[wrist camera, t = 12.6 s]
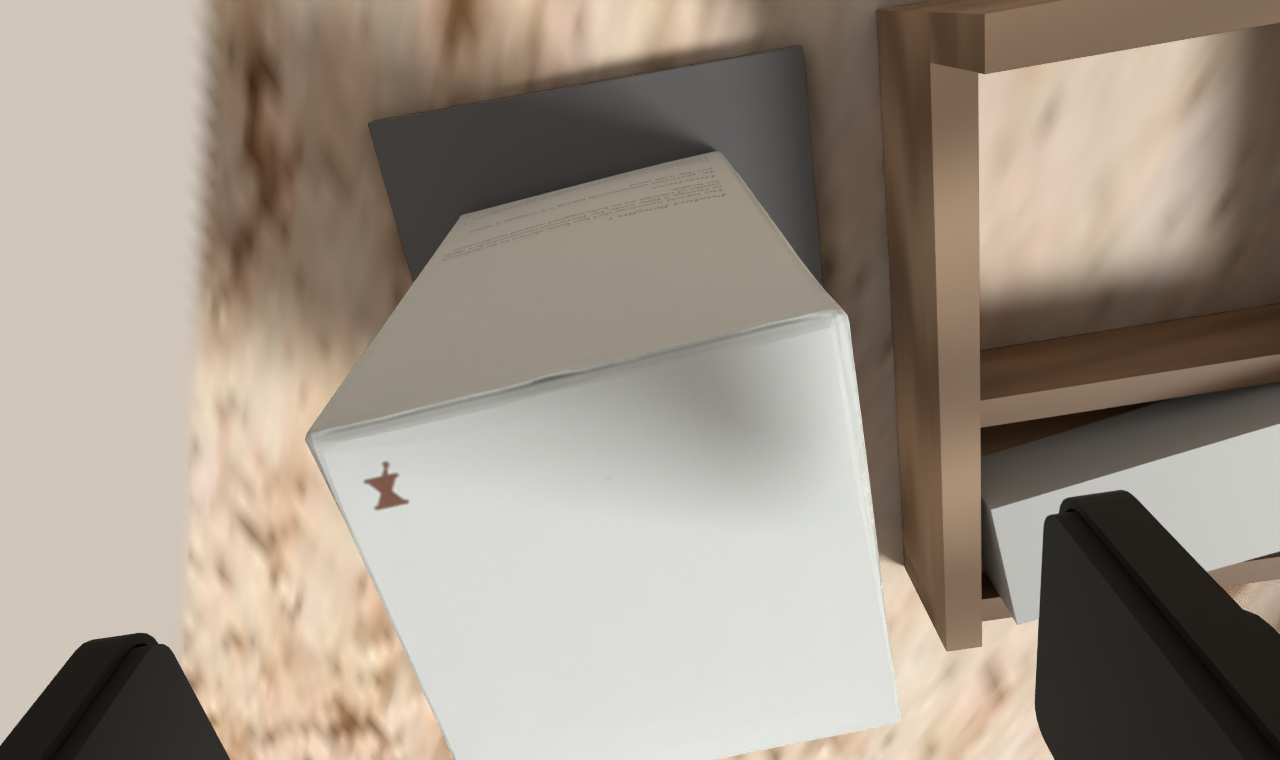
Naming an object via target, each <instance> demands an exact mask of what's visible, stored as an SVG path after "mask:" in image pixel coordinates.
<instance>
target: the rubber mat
mask: <svg viewBox="0 0 1280 760" xmlns="http://www.w3.org/2000/svg"><path fill="white" fill-rule="evenodd" d="M368 126H369V129H370V133H371V136H372V140H373V143H374V147H375V151H376V154H377V158H378V161H379V165H380V168H381V172H382V175H383V179H384V182H385V186H386V189H387V193H388V196H389V200H390V203H391V207H392V210H393V214H394V217H395V221H396V224H397V228H398V231H399V235H400V238H401V242H402V245H403V249H404V252H405V256H406V259H407V263H408V266H409V270H410V273H411V277H412V280H413V283H414V281H415V280H416V279H417V277H418V276H419V274H420V273H421V272H422V270H423V269H424V267H425V266H426V265H427V263H428V262H429V260H430V259H431V258H432V256H433V255H434V253H435V252H436V251H437V249H438V248H439V246H440V245H441V243H442V242H443V241H444V239H445V238H446V236H447V235H448V233H449V232H450V231H451V229H452V228H453V227H454V225H455V224H456V222H457V221H458V220H459V217H460V216H461V215H463V214H467V213H472V212H476V211H480V210H483V209H487V208H491V207H495V206H499V205H502V204H506V203H510V202H514V201H518V200H522V199H526V198H529V197H533V196H537V195H541V194H545V193H549V192H552V191H556V190H560V189H564V188H568V187H572V186H576V185H580V184H583V183H587V182H591V181H595V180H599V179H603V178H607V177H610V176H614V175H618V174H622V173H626V172H630V171H634V170H638V169H642V168H646V167H650V166H654V165H658V164H662V163H666V162H670V161H674V160H679V159H683V158H688V157H692V156H697V155H701V154H706V153H710V152H714V151H719V152H721V153H722V155H723V156H724V157H725V158H726V160H727V161H728V162H729V163H730V165H731V166H732V167H733V169H734V170H735V171H736V172H737V173H738V174H739V175H740V177H741V178H742V179H743V181H744V182H745V183H746V185H747V186H748V188H749V189H750V190H751V191H752V193H753V194H754V196H755V197H756V199H757V200H758V202H759V203H760V204H761V206H762V207H763V208H764V210H765V211H766V212H767V213H768V215H769V216H770V218H771V219H772V221H773V222H774V223H775V225H776V226H777V228H778V229H779V230H780V232H781V233H782V234H783V236H784V237H785V239H786V240H787V241H788V243H789V244H790V245H791V247H792V248H793V250H794V251H795V253H796V254H797V256H798V257H799V258H800V259H801V261H802V262H803V263H804V265H805V266H806V267H807V269H808V270H809V271H810V272H811V274H812V275H813V276H814V278H815V279H816V280H817V281H818V283H819V284H820V285H821V286H822V287H823V283H822V271H821V259H820V247H819V235H818V224H817V212H816V200H815V188H814V176H813V164H812V152H811V140H810V128H809V116H808V104H807V92H806V80H805V68H804V56H803V47H802V46H792V47H786V48H781V49H775V50H769V51H764V52H758V53H753V54H747V55H741V56H736V57H730V58H724V59H719V60H713V61H708V62H702V63H696V64H691V65H685V66H679V67H674V68H668V69H663V70H657V71H651V72H646V73H640V74H634V75H629V76H623V77H618V78H612V79H606V80H601V81H595V82H589V83H584V84H578V85H573V86H567V87H561V88H556V89H550V90H544V91H539V92H533V93H528V94H522V95H516V96H511V97H505V98H499V99H494V100H488V101H482V102H477V103H471V104H466V105H460V106H454V107H449V108H443V109H437V110H432V111H426V112H421V113H415V114H409V115H404V116H398V117H392V118H387V119H381V120H376V121H373V122H371V123H369V124H368Z"/></svg>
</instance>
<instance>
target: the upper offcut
mask: <svg viewBox="0 0 1280 760" xmlns="http://www.w3.org/2000/svg"><path fill="white" fill-rule="evenodd" d="M1116 490H1125V491H1128V492H1129V493H1131V494H1132V495H1133V496H1135V497H1136V498H1137V499H1138V501H1139V502H1140V503H1141V504H1142V505H1143V506H1144V507H1145V508H1146V509H1147V510H1148V511H1149V512H1150V513H1151V514H1152V515H1153V516H1154V517H1155V518H1156V519H1157V520H1158V521H1159V522H1160V523H1161V525H1162V526H1163V527H1164V528H1165V529H1166V530H1167V531H1168V532H1169V533H1170V534H1171V535H1172V536H1173V537H1174V538H1175V539H1176V540H1177V541H1178V542H1179V543H1180V544H1181V545H1182V546H1183V548H1184V549H1185V550H1186V551H1187V552H1188V553H1189V554H1190V555H1191V556H1192V557H1193V558H1194V559H1195V560H1196V561H1197V562H1198V563H1199V564H1200V565H1201V566H1202V567H1203V568H1204V569H1205V570H1206V572H1208V571H1211V570H1215V569H1218V568H1222V567H1225V566H1229V565H1233V564H1236V563H1240V562H1243V561H1247V560H1250V559H1254V558H1258V557H1261V556H1265V555H1268V554H1272V553H1275V552H1279V551H1280V382H1274V383H1267V384H1261V385H1254V386H1248V387H1241V388H1235V389H1228V390H1222V391H1215V392H1209V393H1202V394H1196V395H1189V396H1183V397H1176V398H1173V399H1169V400H1166V401H1163V402H1160V403H1156V404H1153V405H1150V406H1147V407H1143V408H1140V409H1137V410H1133V411H1130V412H1127V413H1124V414H1120V415H1117V416H1114V417H1111V418H1107V419H1104V420H1101V421H1098V422H1094V423H1091V424H1088V425H1085V426H1081V427H1078V428H1075V429H1071V430H1068V431H1065V432H1062V433H1058V434H1055V435H1052V436H1049V437H1045V438H1042V439H1039V440H1036V441H1032V442H1029V443H1026V444H1023V445H1019V446H1016V447H1013V448H1010V449H1006V450H1003V451H1000V452H996V453H993V454H990V455H987V456H983V457H981V558H982V562H983V567H984V571H985V573H986V575H987V576H988V578H989V580H990V581H991V583H992V585H993V586H994V588H995V589H996V591H997V593H998V594H999V596H1000V598H1001V599H1002V601H1003V602H1004V604H1005V606H1006V607H1007V609H1008V611H1009V612H1010V614H1011V615H1012V617H1013V619H1014V620H1015V622H1016V623H1017V625H1018V624H1022V623H1025V622H1029V621H1032V620H1036V619H1039V607H1040V587H1041V566H1042V546H1043V527H1044V521H1045V519H1046V517H1047V516H1048V515H1052V514H1058V513H1059V509H1060V505H1061V503H1062V501H1063V500H1064V499H1066V498H1068V497H1075V496H1082V495H1088V494H1095V493H1102V492H1109V491H1116Z"/></svg>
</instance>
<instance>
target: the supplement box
mask: <svg viewBox="0 0 1280 760" xmlns="http://www.w3.org/2000/svg"><path fill="white" fill-rule="evenodd" d="M305 441H306V443H307V445H308V447H309V449H310V451H311V453H312V455H313V457H314V459H315V461H316V463H317V465H318V467H319V469H320V471H321V473H322V475H323V477H324V479H325V481H326V483H327V485H328V487H329V489H330V491H331V493H332V495H333V497H334V499H335V501H336V503H337V505H338V508H339V510H340V512H341V514H342V516H343V518H344V520H345V522H346V524H347V526H348V528H349V531H350V533H351V535H352V537H353V539H354V542H355V544H356V546H357V548H358V550H359V553H360V555H361V557H362V559H363V561H364V563H365V566H366V568H367V570H368V572H369V574H370V576H371V579H372V581H373V583H374V585H375V587H376V589H377V592H378V594H379V596H380V598H381V600H382V602H383V605H384V607H385V609H386V611H387V614H388V616H389V618H390V621H391V623H392V625H393V627H394V630H395V632H396V634H397V636H398V638H399V640H400V642H401V644H402V646H403V648H404V651H405V653H406V655H407V657H408V660H409V662H410V664H411V666H412V668H413V671H414V673H415V675H416V677H417V679H418V682H419V684H420V686H421V688H422V690H423V692H424V695H425V697H426V699H427V701H428V703H429V705H430V707H431V710H432V712H433V714H434V716H435V718H436V720H437V723H438V725H439V727H440V729H441V731H442V733H443V736H444V738H445V740H446V742H447V745H448V747H449V749H450V751H451V753H452V755H453V757H454V760H715V759H720V758H725V757H730V756H735V755H740V754H745V753H750V752H755V751H760V750H765V749H770V748H775V747H780V746H785V745H790V744H795V743H800V742H806V741H811V740H816V739H821V738H826V737H831V736H837V735H842V734H847V733H852V732H857V731H862V730H868V729H873V728H878V727H883V726H889V725H894V724H897V723H899V722H900V721H901V720H902V719H903V718H902V714H901V710H900V706H899V699H898V693H897V687H896V681H895V674H894V666H893V658H892V651H891V644H890V637H889V630H888V622H887V615H886V608H885V600H884V592H883V584H882V576H881V568H880V560H879V552H878V544H877V536H876V528H875V520H874V512H873V504H872V496H871V488H870V480H869V472H868V464H867V456H866V449H865V441H864V433H863V426H862V418H861V410H860V403H859V395H858V387H857V380H856V372H855V364H854V357H853V349H852V340H851V332H850V323H849V319H848V315H847V314H846V313H845V312H844V310H843V309H842V308H841V307H840V306H839V305H838V304H837V302H836V301H835V300H834V299H833V298H832V297H831V296H830V295H829V294H828V293H827V292H826V291H825V289H824V288H823V287H822V286H821V285H820V284H819V283H818V281H817V280H816V279H815V278H814V276H813V275H812V274H811V272H810V271H809V270H808V269H807V267H806V266H805V265H804V263H803V262H802V261H801V259H800V258H799V257H798V256H797V254H796V253H795V251H794V250H793V248H792V247H791V245H790V244H789V243H788V241H787V240H786V239H785V237H784V236H783V234H782V233H781V232H780V230H779V229H778V228H777V226H776V225H775V223H774V222H773V221H772V219H771V218H770V216H769V215H768V213H767V212H766V211H765V210H764V208H763V207H762V206H761V204H760V203H759V202H758V200H757V199H756V197H755V196H754V194H753V193H752V191H751V190H750V189H749V188H748V186H747V185H746V183H745V182H744V181H743V179H742V178H741V177H740V175H739V174H738V173H737V172H736V171H735V170H734V169H733V167H732V166H731V165H730V163H729V162H728V161H727V160H726V158H725V157H724V156H723V155H722V153H721V152H719V151H714V152H710V153H706V154H701V155H697V156H692V157H688V158H683V159H679V160H674V161H670V162H666V163H662V164H658V165H654V166H650V167H646V168H642V169H638V170H634V171H630V172H626V173H622V174H618V175H614V176H610V177H607V178H603V179H599V180H595V181H591V182H587V183H583V184H580V185H576V186H572V187H568V188H564V189H560V190H556V191H552V192H549V193H545V194H541V195H537V196H533V197H529V198H526V199H522V200H518V201H514V202H510V203H506V204H502V205H499V206H495V207H491V208H487V209H483V210H480V211H476V212H472V213H467V214H463V215H461V216H460V217H459V220H458V221H457V222H456V224H455V225H454V227H453V228H452V229H451V231H450V232H449V233H448V235H447V236H446V238H445V239H444V241H443V242H442V243H441V245H440V246H439V248H438V249H437V251H436V252H435V253H434V255H433V256H432V258H431V259H430V260H429V262H428V263H427V265H426V266H425V267H424V269H423V270H422V272H421V273H420V274H419V276H418V277H417V279H416V280H415V281H414V283H413V284H412V285H411V287H410V288H409V290H408V291H407V293H406V294H405V295H404V297H403V298H402V300H401V301H400V302H399V304H398V305H397V307H396V308H395V310H394V311H393V312H392V314H391V315H390V317H389V318H388V320H387V321H386V322H385V324H384V325H383V326H382V328H381V329H380V331H379V332H378V333H377V335H376V336H375V338H374V339H373V340H372V342H371V343H370V345H369V346H368V347H367V349H366V350H365V352H364V353H363V355H362V356H361V358H360V359H359V360H358V361H357V363H356V364H355V366H354V367H353V369H352V370H351V372H350V373H349V374H348V376H347V377H346V379H345V380H344V381H343V383H342V384H341V386H340V387H339V388H338V390H337V391H336V393H335V394H334V395H333V397H332V398H331V400H330V401H329V402H328V404H327V405H326V407H325V408H324V410H323V411H322V412H321V414H320V415H319V417H318V418H317V420H316V421H315V422H314V424H313V425H312V427H311V428H310V430H309V431H308V432H307V435H306V438H305Z"/></svg>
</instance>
